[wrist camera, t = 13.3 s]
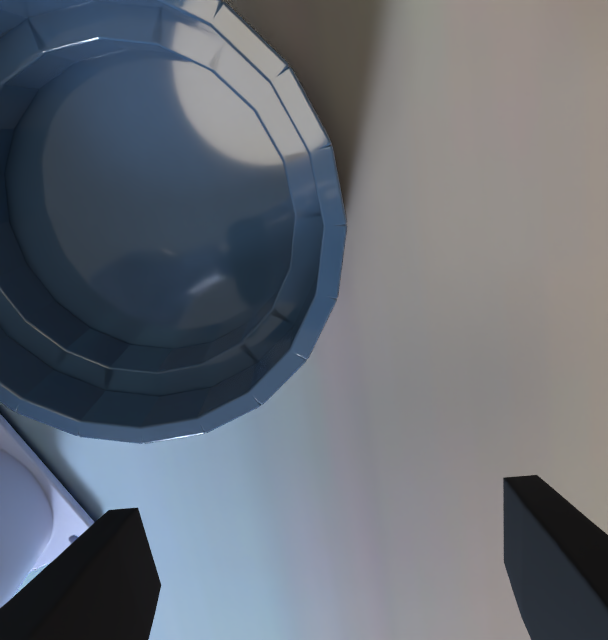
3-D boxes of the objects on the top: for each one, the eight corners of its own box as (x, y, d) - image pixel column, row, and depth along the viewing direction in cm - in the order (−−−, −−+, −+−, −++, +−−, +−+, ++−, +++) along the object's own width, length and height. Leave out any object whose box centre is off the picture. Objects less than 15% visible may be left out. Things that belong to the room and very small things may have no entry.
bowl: (122, 426, 21) (69, 502, 16) (-103, 140, 17) (-243, 145, 13) (405, 277, 18) (428, 323, 14) (205, -95, 14) (155, -187, 10)
